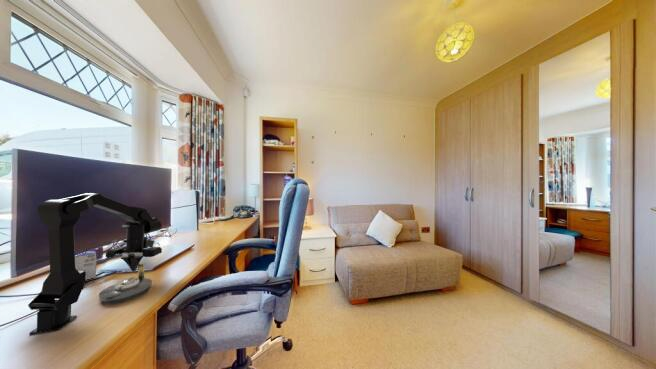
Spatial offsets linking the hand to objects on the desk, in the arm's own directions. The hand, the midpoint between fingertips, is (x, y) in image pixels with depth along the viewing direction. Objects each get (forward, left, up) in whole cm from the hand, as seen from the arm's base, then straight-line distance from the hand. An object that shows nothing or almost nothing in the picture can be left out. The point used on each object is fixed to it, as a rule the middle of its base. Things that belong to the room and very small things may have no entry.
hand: (134, 271), depth 87 cm
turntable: (-8, -2, -5) cm, 9 cm away
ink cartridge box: (+12, +26, -6) cm, 29 cm away
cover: (-9, -2, -3) cm, 9 cm away
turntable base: (-9, -2, -6) cm, 11 cm away
